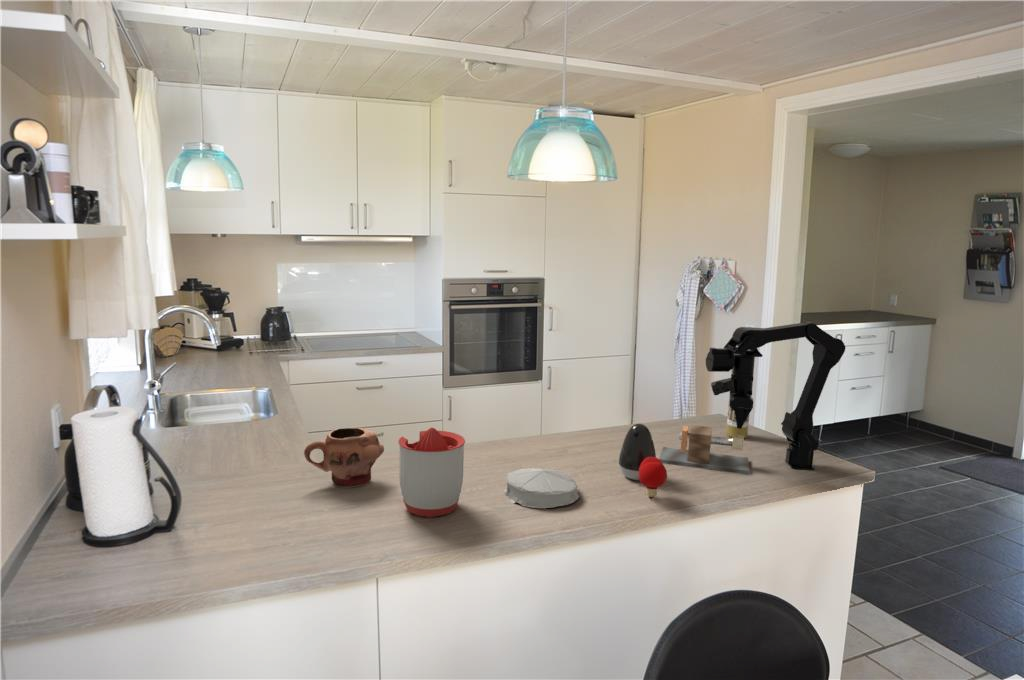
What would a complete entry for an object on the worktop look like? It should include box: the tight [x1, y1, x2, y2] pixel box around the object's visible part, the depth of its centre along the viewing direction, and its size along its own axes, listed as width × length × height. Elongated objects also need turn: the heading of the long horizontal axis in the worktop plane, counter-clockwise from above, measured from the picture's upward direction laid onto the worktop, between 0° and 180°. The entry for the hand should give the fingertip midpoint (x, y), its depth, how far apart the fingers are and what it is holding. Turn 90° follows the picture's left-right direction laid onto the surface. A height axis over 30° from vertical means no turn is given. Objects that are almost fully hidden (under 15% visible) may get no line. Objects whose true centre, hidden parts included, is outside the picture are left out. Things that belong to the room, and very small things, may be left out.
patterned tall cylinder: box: [725, 369, 750, 439], centre depth 223 cm, size 7×7×25 cm
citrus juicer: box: [398, 427, 466, 518], centre depth 159 cm, size 16×17×20 cm
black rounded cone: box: [618, 423, 657, 481], centre depth 183 cm, size 10×10×15 cm
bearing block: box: [658, 424, 750, 475], centre depth 198 cm, size 25×12×10 cm, turn 72°
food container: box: [503, 467, 580, 510], centre depth 171 cm, size 20×20×7 cm
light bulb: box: [638, 456, 668, 499], centre depth 170 cm, size 9×7×10 cm
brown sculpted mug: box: [303, 427, 385, 488], centre depth 172 cm, size 20×12×14 cm, turn 115°
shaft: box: [678, 431, 745, 452], centre depth 197 cm, size 18×4×4 cm, turn 72°
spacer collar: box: [680, 425, 689, 452], centre depth 200 cm, size 1×6×6 cm, turn 162°
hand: (739, 424), depth 194 cm, fingers open, 9 cm apart
